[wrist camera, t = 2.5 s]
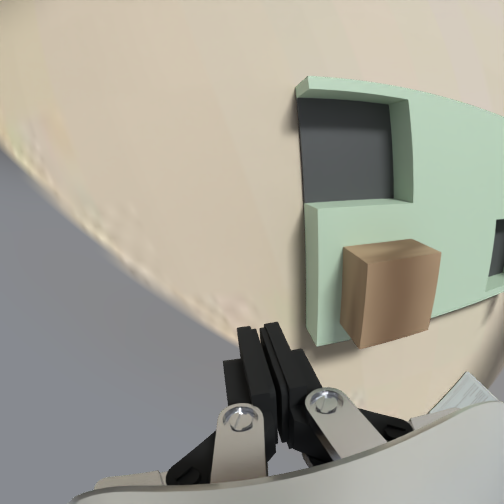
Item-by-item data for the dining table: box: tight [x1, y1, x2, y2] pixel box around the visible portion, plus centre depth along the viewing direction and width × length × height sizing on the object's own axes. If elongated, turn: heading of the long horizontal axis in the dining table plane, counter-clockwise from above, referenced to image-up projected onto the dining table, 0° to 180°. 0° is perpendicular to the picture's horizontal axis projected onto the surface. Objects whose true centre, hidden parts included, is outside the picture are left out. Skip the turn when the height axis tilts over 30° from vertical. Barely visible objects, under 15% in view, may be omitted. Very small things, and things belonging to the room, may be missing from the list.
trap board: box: [295, 76, 504, 346], centre depth 16 cm, size 24×16×6 cm, turn 94°
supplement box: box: [429, 371, 499, 414], centre depth 21 cm, size 7×7×13 cm
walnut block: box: [340, 239, 442, 349], centre depth 15 cm, size 5×5×3 cm
